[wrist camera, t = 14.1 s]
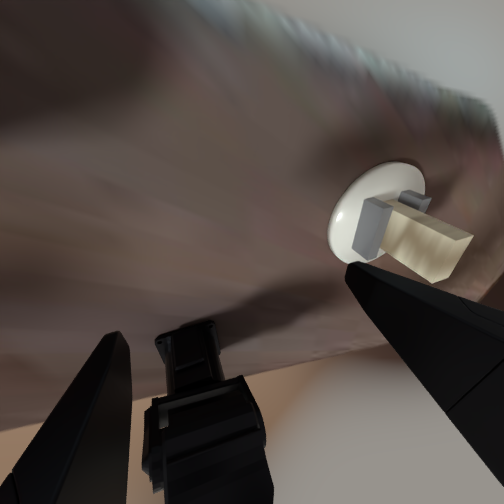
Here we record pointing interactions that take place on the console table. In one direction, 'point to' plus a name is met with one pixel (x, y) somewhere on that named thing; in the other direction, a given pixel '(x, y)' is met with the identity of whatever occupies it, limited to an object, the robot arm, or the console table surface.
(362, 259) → the dish
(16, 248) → the console table surface
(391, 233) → the block
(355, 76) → the console table surface
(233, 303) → the console table surface
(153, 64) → the console table surface
